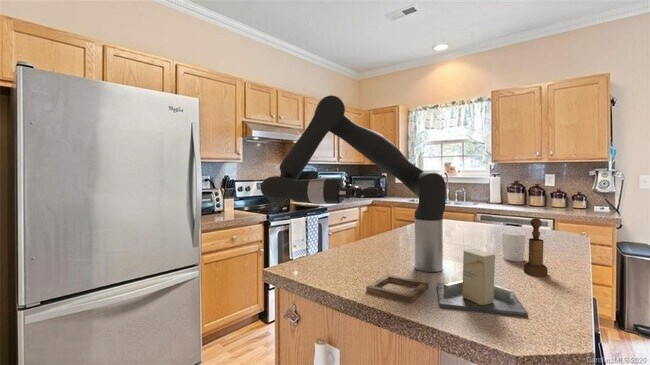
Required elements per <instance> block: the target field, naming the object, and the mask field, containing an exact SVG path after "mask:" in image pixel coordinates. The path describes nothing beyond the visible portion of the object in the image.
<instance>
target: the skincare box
mask: <svg viewBox="0 0 650 365" xmlns="http://www.w3.org/2000/svg"><path fill="white" fill-rule="evenodd" d="M462 258H463V260H462V262H463V264H462V280H463V287H462V297H464V298H466V299H469V300H471V301H473V302H475V303H477V304H479V305H486V304H490V303H493V301H494V284H495V270H496V267H495V266H496V264H495V263H496V254H495V253H490V252H487V251H484V250H483V251H482V250H479V249H476V248H474V249H465V250H463V257H462Z"/></svg>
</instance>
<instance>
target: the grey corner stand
mask: <svg viewBox="0 0 650 365" xmlns="http://www.w3.org/2000/svg"><path fill="white" fill-rule="evenodd" d="M436 286H437V294H438V302H439V304H438V305H439V308H441V309H449V310H451V309H452V310H460V311H466V312H467V311H470V312H479V313H487V314H495V315H496V314H497V315H504V316H512V317H523V318H528V317H529V312H528V311H527V309H526V308H525V307H524V305H523V304H522V303H521V301H520V300H519V299H518V297H517V296H516V294H515V293H514V290H512V289H511V288H509V287H504V286H501V285H499V284H498V285H497V284H495V283H494V301H493V303H490V304H486V305H479V304H477V303H475V302H473V301H471V300H469V299H466V298H464V297H462V287H463V279H461V280H457V281H453V282H441V281H440V282H439V281H437V282H436Z"/></svg>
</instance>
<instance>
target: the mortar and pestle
mask: <svg viewBox="0 0 650 365" xmlns="http://www.w3.org/2000/svg"><path fill="white" fill-rule="evenodd" d="M530 225H531V226H532V229H533V231H532V232H531V234H532V238H528V261H527V262H526V263H524V264H523V272H524V273H525V274H527V275H530V276H536V277H547V276H548V267H547V266H546V265H545V264H544V239H541V238H540V237H541V232H540V228H541V226H542V220H541V219H540V218H538V217H535V218H532V219H531V220H530Z"/></svg>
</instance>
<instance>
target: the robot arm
mask: <svg viewBox="0 0 650 365" xmlns="http://www.w3.org/2000/svg"><path fill="white" fill-rule="evenodd" d="M345 112H346V107H345V103H344V101H343V100H342V99H341V98H340V97H339V96H338V95H332V94H331V95H327V96H324V97H323V98H321V99H320V100H319V101H318V104H317V106H316V108H315V109H314V114H313V117H312V118H311V121H310V122H309V124H308V125H307V127H306V128H305V130H304V131H303V133H302V134H301V136H300V137H299V138H298V139H297V141H296V142H295V143H294V145H293V146H292V147H291V148H290V150H289V152H288V153H287V154H286V156H285V157H284V159H283V160H282V162H281V163H280V165H279V171H280V175H279V176H276V175H274V176H270V177H267V178H265V179H264V180H262V182H261V184H260V193H261V195H262V196H264V197H265V198H266V199H267V200H269V201H270V202H271V203H273V204H275V205H282V204H284V203H286V202H287V201H288V200H291V201H294V202H297V203H313V204H329V205H340V204H341V203H342V202H343V200H344V198H346V199H359V198H364V197H366V198H367V197H368V198H369V197H370V198H371V197H373V198H375V197H378V196H379V195H383V187H382V186H369V185H365V186H364V185H363V184H349V183H348V184H346V186H344V183H343V180H342V179H341V178H313V179H310V178H309V179H299V177H300V176H301V174H302V173H303V171H304V170H305V168H306V167H307V165H308V164H309V163H310V160H312V157H313V156H314V154H315V152H316V151H317V149H318V147H319V146H320V144H321V143H322V142H323V140H324V138H325V137H326V136H327V134H328V133H331V134H332V135H334V136H336V137H338V138H340V139H341V140H343V141H344V142H345V143H347V144H348V145H349V146H351V147H352V148H353V149H354V150H356V151H357V152H358V153H360V154H361V155H362V156H363V157H365V158H366V159H368V161H370V162H371V163H373V165H376V166H377V167H379V168H380V169H381V170H383V171H385V172H386V173H387V174H390V175H391V176H393V177H395V178H396V179H397V180H399V181H400V182H401V183H403V185H404V186H405V187H407V188H408V189H409V190H410V192H412V193H413V194H415V196H417V197H418V206H417V208H416V209H415V210H414V268H415V270H418V271H420V272H426V273H427V272H428V273H437V272H442V271H443V268H444V267H443V266H444V264H443V263H444V262H443V261H444V260H443V258H444V254H443V253H444V252H443V251H444V250H443V249H444V244H443V243H444V238H443V236H444V235H443V234H444V233H443V232H444V231H443V230H444V229H443V226H444V225H443V224H444V223H443V221H444V218H443V217H444V213H445V210H446V200H447V199H446V198H447V185H446V181H445V179H444V177H443V176H442V175H441V174H439V173H437V172H432V171H431V172H427V171H424V170H422V169H421V168H419V167H417V166H416V165H414V164H413V163H412V162H411V161H409V160H408V159H407V157H406V156H405V155H404V153H403V152H402V151H401V150H400V149H399V148H398V146H396V145H395V144H394V143H393V142H392V141H390V140H389V139H388V138H387V137H385V136H384V135H383V134H381V133H380V132H378V131H375V130H372V129H369V128H367V127H364V126H362V125H359V124H358V123H356V122H355V121H353V120H351V118H349V117H348V116H346V115H345Z"/></svg>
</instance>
